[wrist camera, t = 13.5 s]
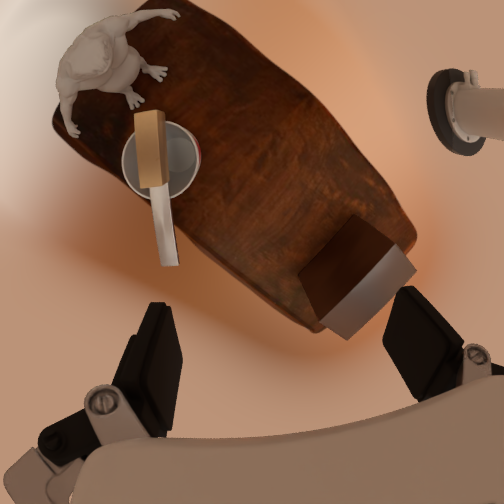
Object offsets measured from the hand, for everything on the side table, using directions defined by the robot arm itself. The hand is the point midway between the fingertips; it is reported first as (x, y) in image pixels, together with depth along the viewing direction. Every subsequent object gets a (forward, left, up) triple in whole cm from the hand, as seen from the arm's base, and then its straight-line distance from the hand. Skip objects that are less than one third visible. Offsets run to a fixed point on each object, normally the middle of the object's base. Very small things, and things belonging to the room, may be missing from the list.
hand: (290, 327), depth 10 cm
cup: (-6, -9, -29) cm, 31 cm away
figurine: (-16, -13, -29) cm, 36 cm away
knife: (-2, -9, -18) cm, 21 cm away
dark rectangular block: (+11, +14, -28) cm, 33 cm away
